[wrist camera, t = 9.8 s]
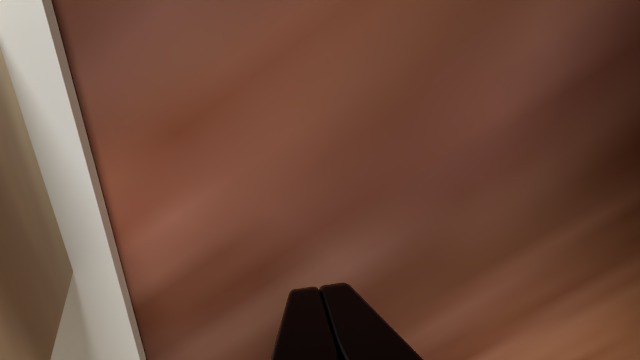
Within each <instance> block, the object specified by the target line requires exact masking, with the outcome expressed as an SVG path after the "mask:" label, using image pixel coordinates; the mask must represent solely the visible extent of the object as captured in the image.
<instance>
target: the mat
mask: <svg viewBox="0 0 640 360" xmlns="http://www.w3.org/2000/svg"><path fill="white" fill-rule="evenodd" d="M0 48H1V51H2V54H3V57H4V60H5V63H6V66H7V69H8V72H9V75H10V79H11V82H12V85H13V88H14V91H15V94H16V97H17V100H18V103H19V106H20V109H21V112H22V115H23V119H24V122H25V125H26V128H27V131H28V134H29V137H30V140H31V143H32V146H33V149H34V152H35V155H36V159H37V162H38V165H39V168H40V171H41V174H42V177H43V180H44V183H45V186H46V189H47V192H48V195H49V199H50V202H51V205H52V208H53V211H54V214H55V217H56V220H57V223H58V226H59V229H60V232H61V235H62V239H63V242H64V245H65V248H66V251H67V254H68V257H69V260H70V263H71V266H72V269H73V274H72V278H71V282H70V286H69V290H68V294H67V298H66V302H65V305H64V309H63V313H62V317H61V321H60V325H59V329H58V332H57V336H56V340H55V344H54V348H53V352H52V356H51V360H146V357H145V353H144V349H143V346H142V342H141V338H140V334H139V330H138V327H137V323H136V319H135V315H134V311H133V308H132V304H131V300H130V296H129V293H128V289H127V285H126V281H125V277H124V274H123V270H122V266H121V262H120V259H119V255H118V251H117V247H116V243H115V240H114V236H113V232H112V228H111V224H110V221H109V217H108V213H107V209H106V206H105V202H104V198H103V194H102V190H101V187H100V183H99V179H98V175H97V172H96V168H95V164H94V160H93V156H92V153H91V149H90V145H89V141H88V137H87V134H86V130H85V126H84V122H83V119H82V115H81V111H80V107H79V103H78V100H77V96H76V92H75V88H74V85H73V81H72V77H71V73H70V69H69V66H68V62H67V58H66V54H65V50H64V47H63V43H62V39H61V35H60V32H59V28H58V24H57V20H56V16H55V13H54V9H53V5H52V1H51V0H0Z"/></svg>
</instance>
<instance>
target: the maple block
mask: <svg viewBox="0 0 640 360" xmlns="http://www.w3.org/2000/svg"><path fill="white" fill-rule="evenodd" d="M72 274H73V269H72V266H71V263H70V260H69V257H68V254H67V251H66V248H65V245H64V242H63V239H62V235H61V232H60V229H59V226H58V223H57V220H56V217H55V214H54V211H53V208H52V205H51V202H50V199H49V195H48V192H47V189H46V186H45V183H44V180H43V177H42V174H41V171H40V168H39V165H38V162H37V159H36V155H35V152H34V149H33V146H32V143H31V140H30V137H29V134H28V131H27V128H26V125H25V122H24V119H23V115H22V112H21V109H20V106H19V103H18V100H17V97H16V94H15V91H14V88H13V85H12V82H11V79H10V75H9V72H8V69H7V66H6V63H5V60H4V57H3V54H2V51H1V48H0V360H51V356H52V352H53V348H54V344H55V340H56V336H57V332H58V329H59V325H60V321H61V317H62V313H63V309H64V305H65V302H66V298H67V294H68V290H69V286H70V282H71V278H72Z"/></svg>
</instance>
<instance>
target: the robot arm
mask: <svg viewBox="0 0 640 360" xmlns="http://www.w3.org/2000/svg"><path fill="white" fill-rule="evenodd" d="M271 360H423V359H422V358H421V357H420V356H419V355H418V354H417V353H416V352H415V351H414V350H413V349H412V348H411V347H410V346H409V345H408V344H407V343H406V342H405V341H404V340H403V339H402V338H401V337H400V336H399V335H398V334H397V333H396V332H395V331H394V330H393V329H392V328H391V327H390V326H389V325H388V324H387V323H386V322H385V321H384V320H383V319H382V318H381V317H380V316H379V315H378V314H377V313H376V312H375V311H374V310H373V309H372V307H371V306H370V305H369V304H368V303H367V302H366V301H365V300H364V299H363V298H362V297H361V296H360V295H359V294H358V293H357V292H356V291H355V290H354V289H353V288H352V287H351V286H350V285H348V284H346V283H338V284H330V285H323V286H321V287H320V289H319V290H318V288H316V287H308V288H300V289H294V290H292V291H291V292H290V293H289V296H288V299H287V303H286V307H285V310H284V314H283V317H282V321H281V324H280V328H279V332H278V335H277V339H276V342H275V346H274V349H273V353H272V356H271Z"/></svg>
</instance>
